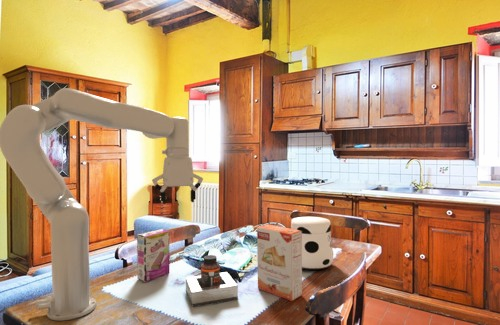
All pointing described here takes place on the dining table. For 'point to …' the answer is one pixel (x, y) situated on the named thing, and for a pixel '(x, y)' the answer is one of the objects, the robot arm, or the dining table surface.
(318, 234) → the milk container
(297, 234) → the cracker box
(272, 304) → the dining table surface
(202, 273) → the supplement bottle
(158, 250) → the candy bar box
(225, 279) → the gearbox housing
